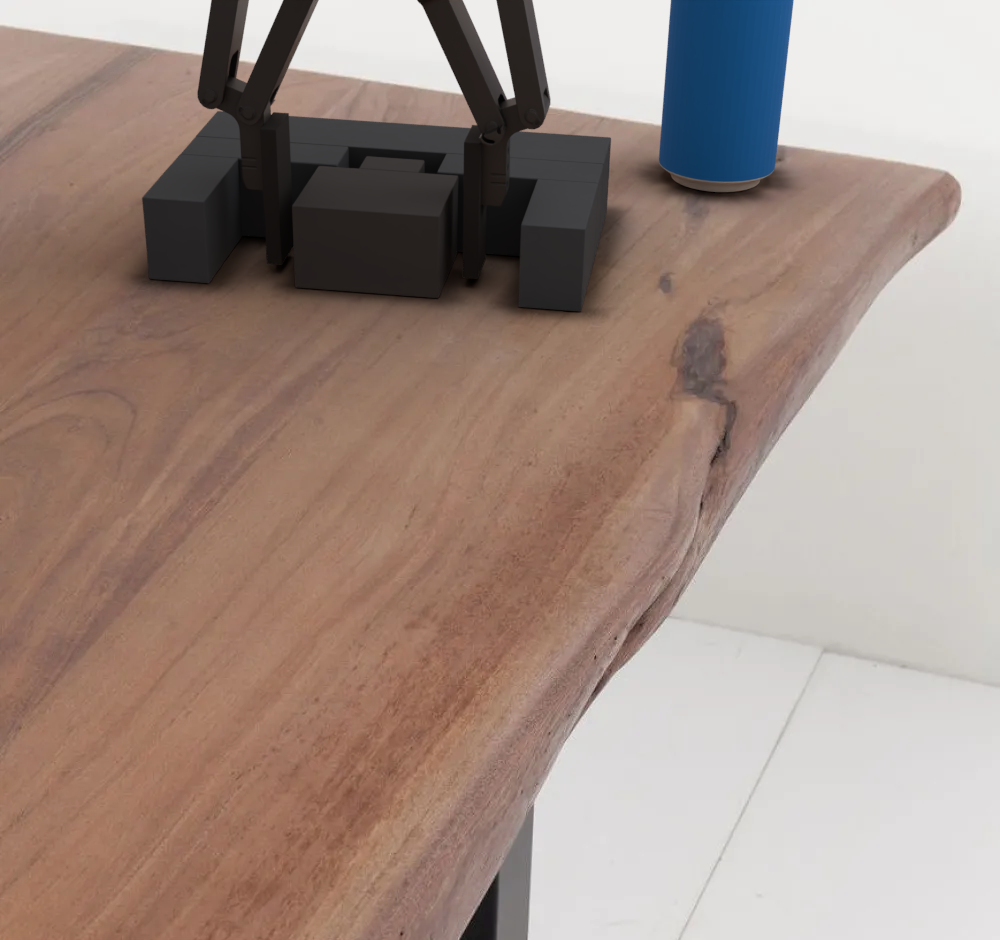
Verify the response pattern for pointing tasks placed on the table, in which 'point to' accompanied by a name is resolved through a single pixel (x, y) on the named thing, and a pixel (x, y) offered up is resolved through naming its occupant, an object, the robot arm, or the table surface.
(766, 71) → the beverage can
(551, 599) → the table surface
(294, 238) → the black block
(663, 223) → the table surface
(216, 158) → the pad base
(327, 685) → the table surface
